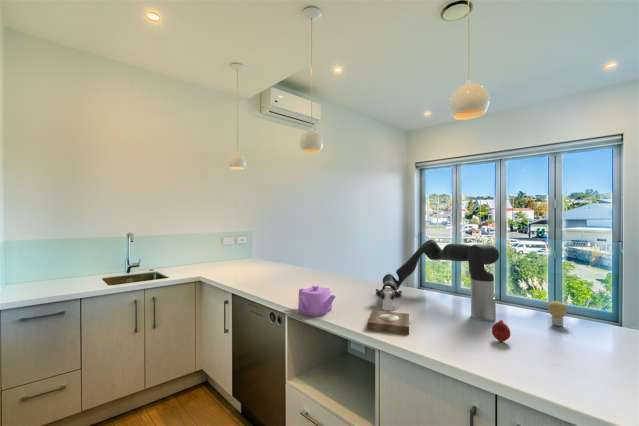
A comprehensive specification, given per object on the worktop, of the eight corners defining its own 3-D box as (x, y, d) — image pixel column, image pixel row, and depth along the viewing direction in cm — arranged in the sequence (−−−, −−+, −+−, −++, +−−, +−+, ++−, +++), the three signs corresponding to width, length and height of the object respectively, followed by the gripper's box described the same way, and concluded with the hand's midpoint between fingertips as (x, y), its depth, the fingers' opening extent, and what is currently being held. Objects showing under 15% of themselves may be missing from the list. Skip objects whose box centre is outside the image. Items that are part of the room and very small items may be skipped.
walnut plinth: (409, 320, 126) (408, 313, 126) (409, 334, 111) (409, 326, 111) (372, 316, 131) (372, 309, 131) (367, 329, 115) (367, 321, 115)
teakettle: (328, 305, 148) (328, 281, 148) (336, 316, 131) (336, 289, 132) (296, 307, 145) (296, 282, 145) (299, 318, 128) (299, 291, 129)
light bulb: (548, 321, 125) (548, 298, 125) (568, 325, 120) (567, 301, 121) (546, 325, 121) (546, 301, 121) (566, 329, 116) (566, 304, 116)
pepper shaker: (381, 307, 145) (381, 285, 145) (392, 307, 145) (392, 285, 145) (383, 310, 140) (383, 287, 140) (394, 310, 139) (394, 288, 140)
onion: (510, 346, 100) (510, 324, 100) (491, 343, 103) (491, 320, 103) (510, 340, 105) (510, 319, 105) (491, 337, 108) (491, 316, 108)
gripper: (403, 296, 154) (402, 306, 137) (376, 294, 158) (372, 303, 142) (403, 283, 154) (402, 290, 138) (376, 281, 158) (372, 288, 142)
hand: (387, 297), depth 140 cm, fingers closed on pepper shaker, 3 cm apart
